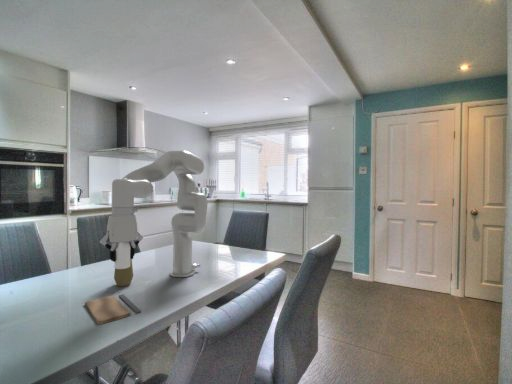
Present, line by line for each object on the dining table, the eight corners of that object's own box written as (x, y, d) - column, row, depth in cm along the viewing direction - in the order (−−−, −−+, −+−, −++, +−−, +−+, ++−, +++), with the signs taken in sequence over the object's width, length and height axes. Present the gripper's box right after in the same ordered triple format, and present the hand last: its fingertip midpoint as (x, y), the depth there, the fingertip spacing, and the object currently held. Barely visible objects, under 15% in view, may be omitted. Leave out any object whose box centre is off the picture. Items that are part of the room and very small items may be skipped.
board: (113, 297, 114) (113, 295, 114) (130, 315, 99) (130, 312, 99) (85, 304, 107) (85, 302, 107) (98, 324, 92) (98, 321, 92)
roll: (127, 236, 103) (111, 236, 102) (127, 269, 103) (111, 269, 103) (133, 234, 109) (118, 234, 108) (132, 264, 109) (117, 264, 109)
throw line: (123, 295, 116) (123, 294, 116) (141, 312, 101) (141, 310, 101) (119, 296, 115) (119, 295, 115) (136, 313, 100) (136, 312, 100)
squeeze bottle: (137, 282, 131) (137, 244, 131) (123, 288, 123) (124, 248, 123) (123, 280, 134) (123, 243, 133) (109, 286, 126) (109, 246, 126)
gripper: (141, 210, 114) (141, 254, 114) (94, 212, 102) (94, 261, 103) (149, 211, 109) (148, 257, 109) (100, 213, 97) (99, 265, 97)
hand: (122, 258), depth 106 cm, fingers closed on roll, 5 cm apart
